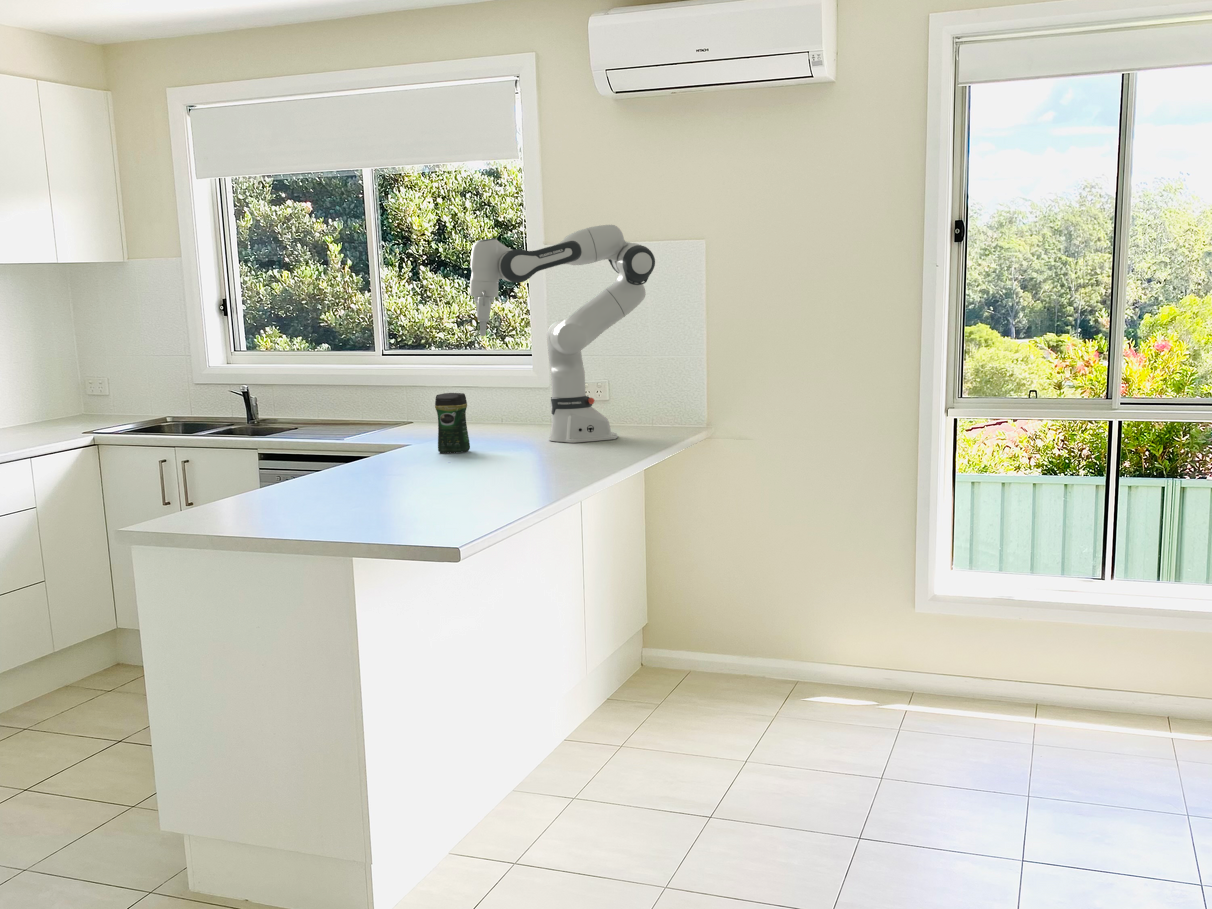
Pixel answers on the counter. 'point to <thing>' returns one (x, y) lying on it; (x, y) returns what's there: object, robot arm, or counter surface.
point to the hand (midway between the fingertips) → (482, 335)
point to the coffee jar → (452, 423)
